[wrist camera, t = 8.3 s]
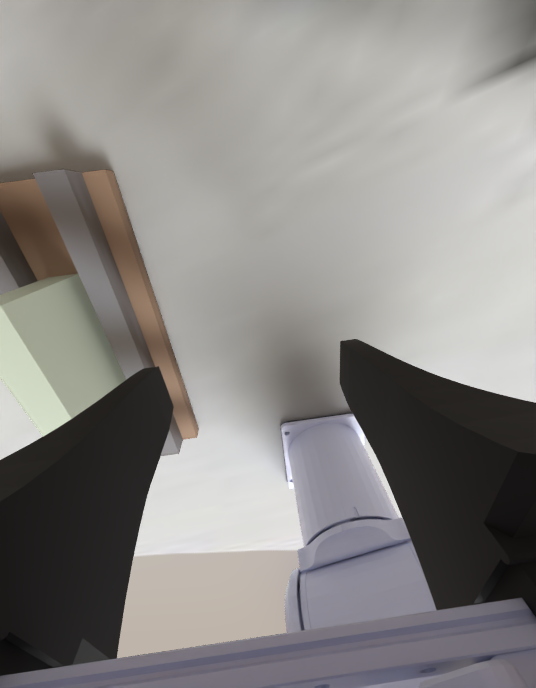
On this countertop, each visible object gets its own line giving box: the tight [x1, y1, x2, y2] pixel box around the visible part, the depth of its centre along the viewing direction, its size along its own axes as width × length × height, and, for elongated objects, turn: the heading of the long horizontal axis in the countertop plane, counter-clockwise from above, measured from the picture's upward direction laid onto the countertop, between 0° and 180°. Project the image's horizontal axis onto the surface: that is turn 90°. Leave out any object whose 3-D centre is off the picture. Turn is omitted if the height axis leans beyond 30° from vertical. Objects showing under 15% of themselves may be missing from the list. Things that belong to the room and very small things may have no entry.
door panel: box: [0, 274, 126, 436], centre depth 16 cm, size 10×2×6 cm, turn 6°
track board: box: [0, 169, 199, 456], centre depth 18 cm, size 20×9×2 cm, turn 6°
